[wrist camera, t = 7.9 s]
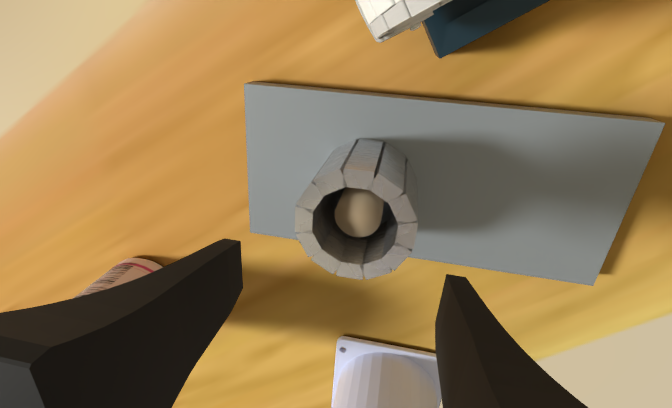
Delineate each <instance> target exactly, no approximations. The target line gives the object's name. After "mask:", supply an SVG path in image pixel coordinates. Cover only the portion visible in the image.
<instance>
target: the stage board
mask: <svg viewBox="0 0 672 408" xmlns="http://www.w3.org/2000/svg"><path fill="white" fill-rule="evenodd" d="M244 95H245V119H246V143H247V167H248V191H249V215H250V232H251V233H257V234H264V235H270V236H277V237H283V238H289V239H296V240H298V238H297V236H296V234H297V232H295V206H296V205H297V204H296V203H297V201H298V200H299V199H300V197H301V196H302V194H303V193H304V191H305V190H306V188H307V187H308V185H309V184H310V182H311V181H312V180H313V178H314V177H315V175H316V174H317V173H318V171H319V170H320V168H321V167H322V166H323V164H324V163H325V161H326V160H327V159H328V157H329V156H330V154H331V153H332V152H333V150H335V149H336V148H337V147H339V146H341V145H344V144H346V143H348V142H350V141H353V140H355V139H357V140H358V141H359V139H360V138H364V139H373V140H383V146H384V145H385V143H386V142H388V143H389V144H390V145H392V146H393V147H395V148H396V149H397V150H399V151H400V152H402V153H403V154H404V155H406V159H407V158H408V160H409V162H410V164H411V167H412V169H413V171H414V174H415V176H416V178H417V202H418V227H417V232H416V238H415V244H414V249H412V253H411V254H410V255H409V256H408V257H411V258H418V259H424V260H430V261H437V262H443V263H450V264H456V265H463V266H469V267H475V268H482V269H488V270H495V271H501V272H507V273H514V274H520V275H527V276H533V277H540V278H546V279H552V280H559V281H565V282H572V283H578V284H584V285H591V286H593V285H594V283H595V281H596V278H597V276H598V274H599V272H600V269H601V267H602V265H603V263H604V260H605V258H606V256H607V254H608V251H609V249H610V247H611V245H612V242H613V240H614V238H615V236H616V233H617V231H618V229H619V227H620V224H621V222H622V220H623V218H624V215H625V213H626V211H627V209H628V206H629V204H630V202H631V200H632V197H633V195H634V193H635V191H636V188H637V186H638V184H639V182H640V179H641V177H642V175H643V173H644V170H645V168H646V166H647V164H648V161H649V159H650V157H651V155H652V152H653V150H654V148H655V146H656V143H657V141H658V139H659V137H660V134H661V132H662V130H663V128H664V125H665V123H664V122H661V121H658V120H655V119H652V118H646V117H635V116H624V115H613V114H602V113H591V112H581V111H570V110H559V109H548V108H537V107H526V106H515V105H505V104H494V103H483V102H472V101H461V100H450V99H440V98H429V97H418V96H407V95H396V94H385V93H375V92H364V91H353V90H342V89H331V88H320V87H310V86H299V85H288V84H277V83H266V82H255V81H252V82H248V83H245V84H244ZM344 189H345V187H344V188H342V189H339V190H337V191H335V193H336V195H337V197H338V199H339V200H340V198H341V196H342V193H343V191H344ZM390 209H391V207H390V205H389V203H387V202H386V201H384V206H383V212H382V213H385V212H388V211H389V210H390Z"/></svg>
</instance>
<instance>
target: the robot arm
mask: <svg viewBox="0 0 672 408" xmlns="http://www.w3.org/2000/svg"><path fill="white" fill-rule="evenodd" d="M242 289H243V280H242V262H241V243H240V241H236V240H230V239H222V240H220V241H217V242H215V243H213V244H211V245H209V246H207V247H205V248H203V249H201V250H199V251H197V252H195V253H193V254H191V255H189V256H186V257H184V258H182V259H180V260H178V261H176V262H174V263H172V264H170V265H167V266H165V267H163V268H161V269H158V270H156V271H154V272H152V273H149V274H147V275H145V276H142V277H140V278H137V279H134V280H132V281H129V282H126V283H123V284H120V285H118V286H115V287H112V288H109V289H105V290H102V291H98V292H95V293H91V294H88V295H84V296H81V297H77V298H73V299H69V300H65V301H61V302H57V303H52V304H47V305H43V306H38V307H33V308H27V309H21V310H15V311H9V312H3V313H0V408H172V406H173V404H174V402H175V400H176V398H177V396H178V394H179V393H180V391H181V389H182V387H183V385H184V383H185V382H186V380H187V378H188V376H189V374H190V373H191V371H192V369H193V368H194V366H195V365H196V363H197V362H198V360H199V359H200V357H201V356H202V354H203V353H204V351H205V350H206V348H207V347H208V345H209V344H210V342H211V341H212V339H213V338H214V337H215V335H216V334H217V332H218V331H219V329H220V328H221V326H222V325H223V323H224V322H225V320H226V319H227V317H228V316H229V314H230V313H231V311H232V309H233V307H234V305H235V303H236V301H237V299H238V297H239V295H240V293H241V291H242ZM435 345H436V354H435V353H430V352H425V351H420V350H414V349H409V348H404V347H399V346H394V345H388V344H383V343H378V342H373V341H368V340H362V339H357V338H352V337H347V336H341V337H339V338H338V340H337V347H336V358H335V370H334V382H333V393H332V405H331V408H439V406H440V402H441V399H442V404H443V408H588V407H587V406H585V405H584V404H583V403H581V402H580V401H579V400H578V399H576V398H575V397H574V396H573V395H572V394H570V393H569V392H568V391H567V390H565V389H564V388H563V387H562V386H561V385H560V384H558V383H557V382H556V381H555V380H554V379H553V378H552V377H551V376H549V375H548V374H547V373H546V372H545V371H544V370H543V369H542V368H541V367H540V366H539V365H538V364H537V363H536V362H535V361H534V360H533V359H532V358H531V357H530V356H529V355H528V354H527V353H526V352H525V351H524V350H523V349H522V348H521V347H520V346H519V345H518V344H517V343H516V342H515V341H514V339H513V338H512V337H511V336H510V335H509V334H508V333H507V331H506V330H505V329H504V328H503V327H502V326H501V324H500V323H499V322H498V321H497V319H496V318H495V317H494V315H493V314H492V313H491V312H490V310H489V309H488V308H487V306H486V305H485V304H484V302H483V301H482V299H481V298H480V297H479V295H478V294H477V292H476V291H475V290H474V288H473V287H472V285H471V284H470V283H469V281H468V280H467V278H466V277H460V276H454V275H448V274H446V279H445V283H444V287H443V292H442V296H441V300H440V305H439V309H438V313H437V318H436V322H435ZM342 347H344V348H346V349H343V348H342Z"/></svg>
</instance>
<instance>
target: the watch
mask: <svg viewBox="0 0 672 408" xmlns="http://www.w3.org/2000/svg"><path fill="white" fill-rule="evenodd" d="M355 1H356V4H357V6H358V8H359V10H360V13H361V15H362V17H363V19H364V21H365V23H366V25H367V26H368V28H369V30H370V32H371V33H372V35H373V37H374V38H375V40H376V41H377V42H380V43H381V42H383V41H385V40H387V39H389V38H391V37H393V36H395V35H397V34H399V33H401V32H403V31H405V30H407V29H409V28H410V30H411V31H414V30H416V29H418V28H419V27H420V26H421V24H420V22H422V23H423V26H424V28H425V30H426V33H427V35H428V38H429V40H430V42H431V45H432V47H433V50H434V52H435V54H436V56H437V57H439V58H442V57H444V56H446V55H448V54H450V53H451V52H453V51H455V50H457V49H459V48H461V47H463V46H465V45H467V44H468V43H470V42H472V41H474V40H476V39H478V38H480V37H482V36H483V35H485V34H487V33H489V32H491V31H493V30H495V29H497V28H499V27H500V26H502V25H504V24H506V23H508V22H510V21H512V20H514V19H516V18H517V17H519V16H521V15H523V14H525V13H527V12H529V11H531V10H533V9H534V8H536V7H538V6H540V5H542V4H544V3H546V2H548V1H549V0H355Z"/></svg>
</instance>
